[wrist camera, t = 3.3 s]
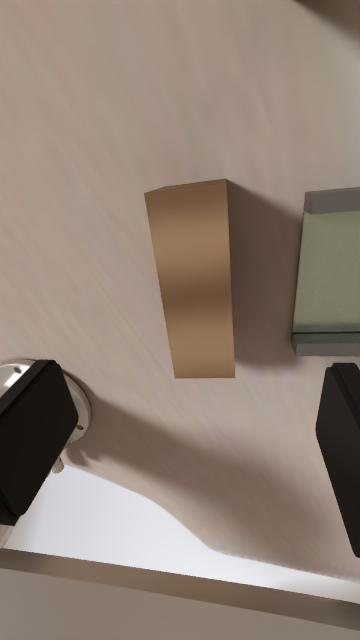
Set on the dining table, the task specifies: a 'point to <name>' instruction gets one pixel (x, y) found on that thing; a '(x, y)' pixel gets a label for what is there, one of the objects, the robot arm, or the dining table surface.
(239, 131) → the dining table surface
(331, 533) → the dining table surface
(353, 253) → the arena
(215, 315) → the walnut block
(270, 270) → the dining table surface
